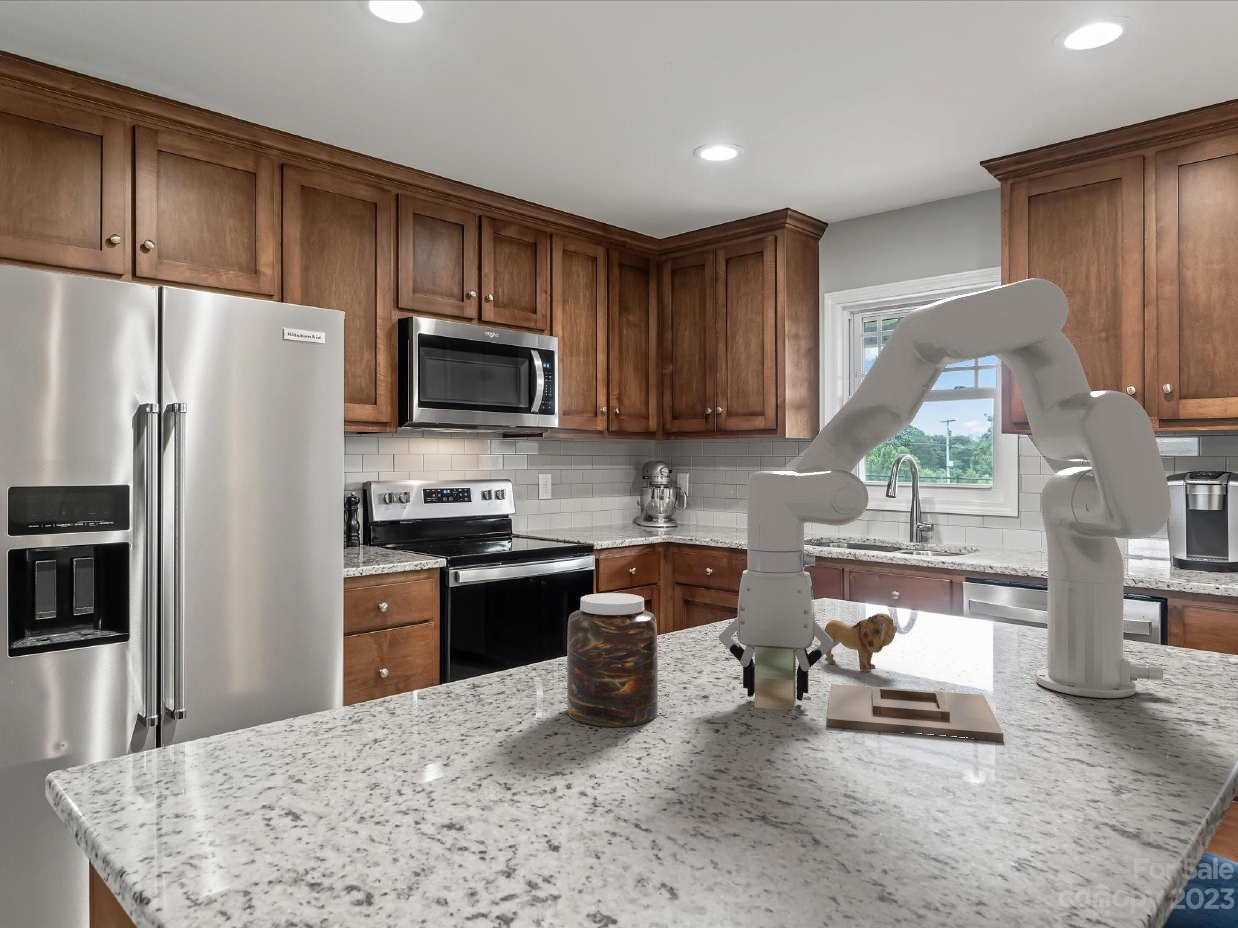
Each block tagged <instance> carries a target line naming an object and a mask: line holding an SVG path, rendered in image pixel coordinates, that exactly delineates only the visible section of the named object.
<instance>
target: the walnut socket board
mask: <svg viewBox="0 0 1238 928" xmlns="http://www.w3.org/2000/svg"><path fill="white" fill-rule="evenodd" d="M829 689H830V690H829V697H828V705H827V714H826V727H827V728H828V727H829V728H836V729H837V728H840V729H848V730H849V729H850V730H860V731H874V732H883V731H888V732H887V733H894V732H904V733H903V734H906V733H922V734H934V735H946V736H957V737H965V738H966V737H968V738H974V739H973V740H975V739H983V740H982V741H986V740H994V741H993V742H999V743H1004V732H1003V730H1002V728H1001V726H1000V724H999V722H998V720H997V717H995V714H994V713H993V711H992V708H991V706H990V704H989V703H988V701H987V699H986V697H985V695H984V694H974V693H960V692H948V691H940V690H939V691H938V690H924V689H911V688H900V687H899V688H897V687H886V686H866V685H865V686H864V685H851V684H838V683H830V688H829Z"/></svg>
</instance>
